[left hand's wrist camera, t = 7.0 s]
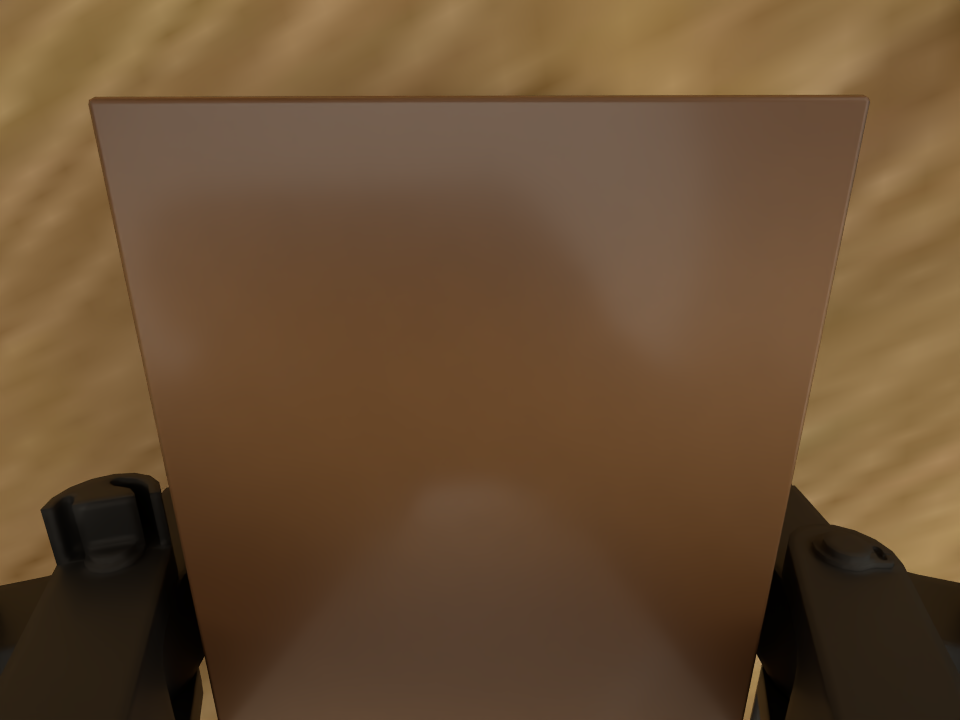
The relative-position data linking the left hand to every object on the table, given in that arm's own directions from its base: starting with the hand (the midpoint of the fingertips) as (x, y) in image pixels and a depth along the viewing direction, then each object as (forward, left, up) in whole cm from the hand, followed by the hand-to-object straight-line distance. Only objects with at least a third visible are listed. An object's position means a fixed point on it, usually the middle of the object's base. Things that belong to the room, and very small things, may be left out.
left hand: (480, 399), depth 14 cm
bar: (+14, -25, 0) cm, 29 cm away
